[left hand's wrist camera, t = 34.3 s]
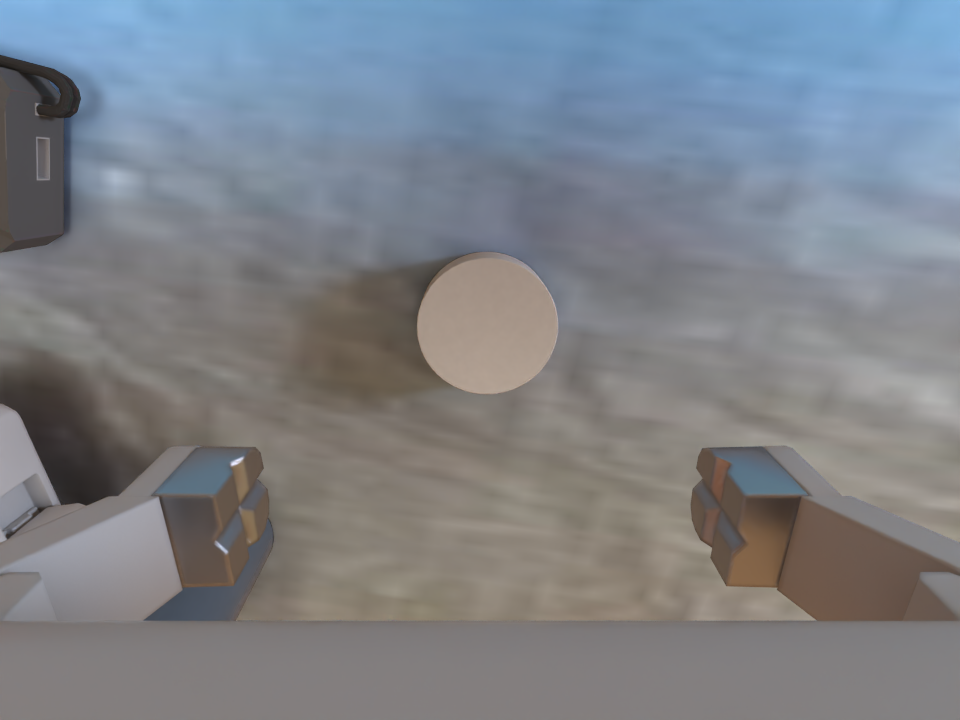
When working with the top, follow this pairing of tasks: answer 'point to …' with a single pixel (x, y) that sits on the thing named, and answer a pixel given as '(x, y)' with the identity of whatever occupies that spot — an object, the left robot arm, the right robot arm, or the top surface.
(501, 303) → the lid
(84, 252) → the top surface
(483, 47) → the top surface
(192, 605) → the dark grey cylinder
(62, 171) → the walkie-talkie
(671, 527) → the top surface
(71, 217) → the top surface
